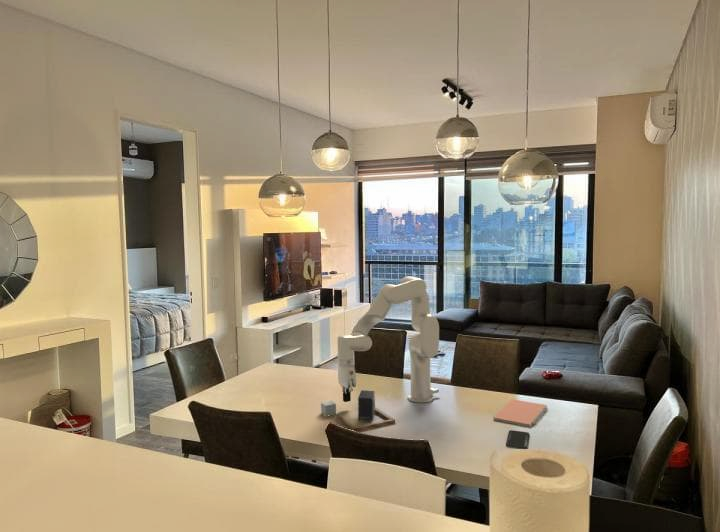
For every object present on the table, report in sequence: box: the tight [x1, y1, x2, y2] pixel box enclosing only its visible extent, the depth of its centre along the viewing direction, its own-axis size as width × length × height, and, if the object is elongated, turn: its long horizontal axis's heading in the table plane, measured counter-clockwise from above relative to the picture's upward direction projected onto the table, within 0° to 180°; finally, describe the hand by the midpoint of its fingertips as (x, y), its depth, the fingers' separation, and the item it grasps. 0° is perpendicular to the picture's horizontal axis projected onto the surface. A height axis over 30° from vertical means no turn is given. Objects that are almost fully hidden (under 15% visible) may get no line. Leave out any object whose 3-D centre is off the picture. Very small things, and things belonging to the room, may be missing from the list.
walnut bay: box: [334, 407, 396, 432], centre depth 224 cm, size 20×18×2 cm
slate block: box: [320, 400, 337, 417], centre depth 233 cm, size 5×5×5 cm
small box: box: [357, 389, 376, 422], centre depth 228 cm, size 11×6×10 cm, turn 172°
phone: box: [505, 429, 530, 450], centre depth 201 cm, size 8×1×15 cm
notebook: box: [492, 399, 548, 428], centre depth 229 cm, size 27×17×2 cm, turn 147°
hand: (346, 401), depth 239 cm, fingers closed
